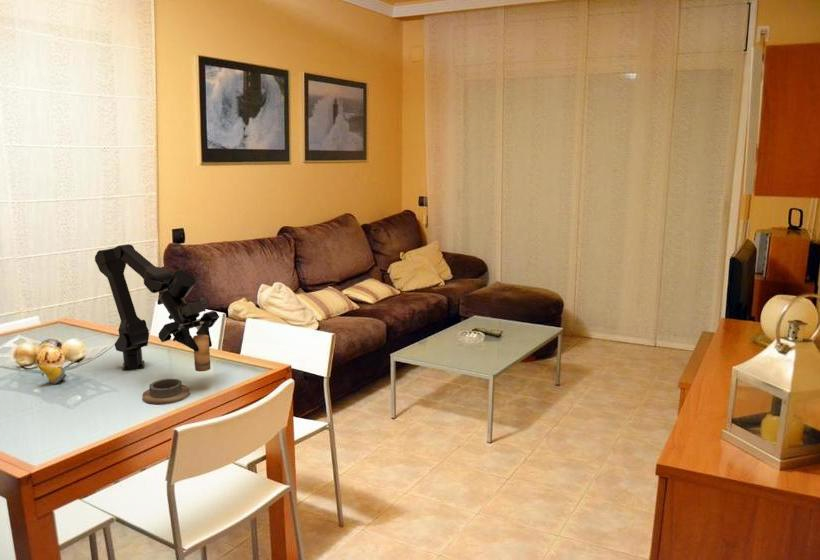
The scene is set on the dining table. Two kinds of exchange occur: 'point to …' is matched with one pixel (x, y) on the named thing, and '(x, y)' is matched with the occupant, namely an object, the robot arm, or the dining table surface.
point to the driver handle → (202, 353)
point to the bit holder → (166, 392)
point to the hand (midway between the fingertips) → (204, 348)
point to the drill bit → (53, 373)
